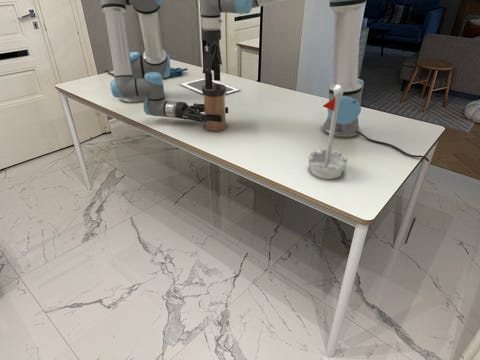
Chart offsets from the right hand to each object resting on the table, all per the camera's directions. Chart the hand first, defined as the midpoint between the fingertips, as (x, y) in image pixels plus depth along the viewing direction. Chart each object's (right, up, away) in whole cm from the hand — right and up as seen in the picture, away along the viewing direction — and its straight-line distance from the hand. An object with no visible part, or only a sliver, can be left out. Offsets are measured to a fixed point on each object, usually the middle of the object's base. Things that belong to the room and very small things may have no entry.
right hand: (213, 84), depth 143 cm
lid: (0, -1, +1) cm, 1 cm away
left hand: (+5, -11, +6) cm, 14 cm away
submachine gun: (-41, +28, +79) cm, 93 cm away
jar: (0, -16, +10) cm, 19 cm away
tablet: (-7, +14, +57) cm, 59 cm away
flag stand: (+42, -37, -22) cm, 60 cm away
